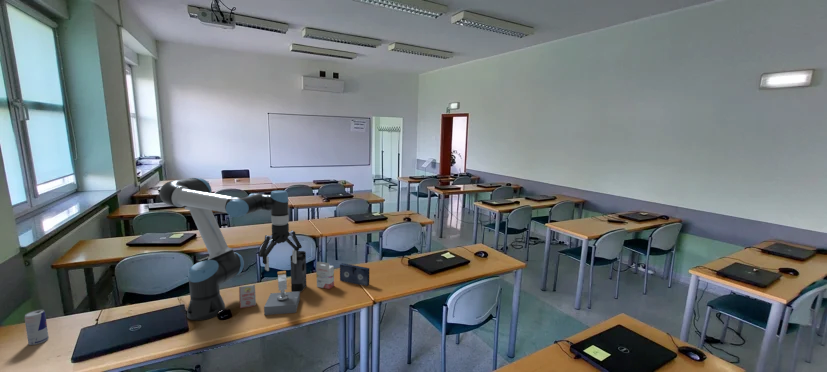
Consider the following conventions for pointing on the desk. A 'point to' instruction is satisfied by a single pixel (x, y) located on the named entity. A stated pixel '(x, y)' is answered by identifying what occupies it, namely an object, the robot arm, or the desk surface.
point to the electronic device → (298, 272)
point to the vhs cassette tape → (354, 274)
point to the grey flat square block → (282, 303)
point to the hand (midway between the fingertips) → (281, 266)
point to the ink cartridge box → (325, 275)
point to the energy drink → (36, 327)
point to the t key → (282, 285)
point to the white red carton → (247, 296)
